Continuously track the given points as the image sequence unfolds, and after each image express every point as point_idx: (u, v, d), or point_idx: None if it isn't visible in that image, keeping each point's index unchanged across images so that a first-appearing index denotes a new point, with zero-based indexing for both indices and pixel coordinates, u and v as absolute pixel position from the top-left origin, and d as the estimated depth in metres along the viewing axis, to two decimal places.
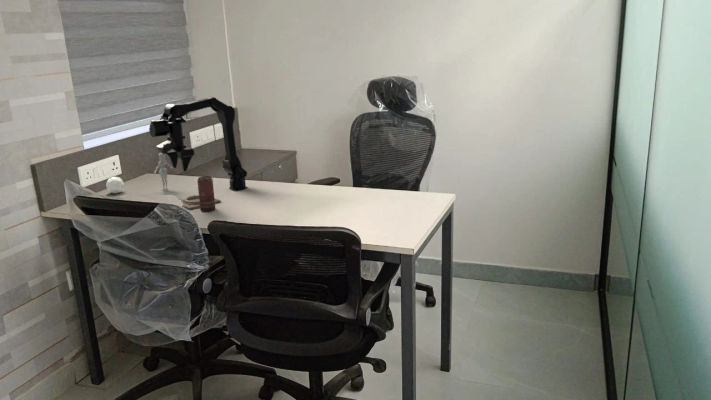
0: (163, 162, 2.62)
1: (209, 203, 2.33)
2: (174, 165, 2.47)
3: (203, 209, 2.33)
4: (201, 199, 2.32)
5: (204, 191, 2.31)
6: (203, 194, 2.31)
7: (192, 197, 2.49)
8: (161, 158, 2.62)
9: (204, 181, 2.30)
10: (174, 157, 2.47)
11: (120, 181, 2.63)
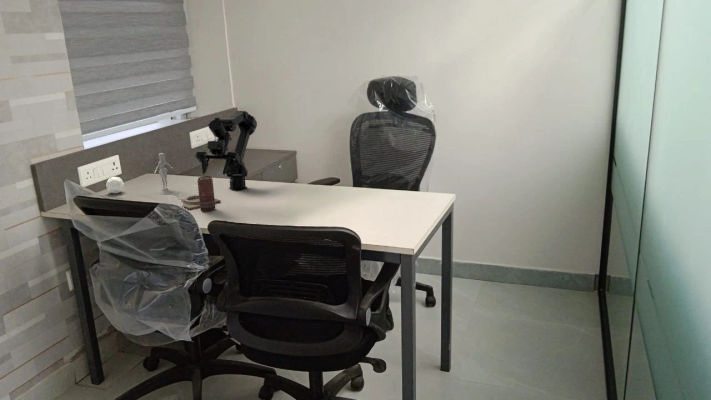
0: (163, 162, 2.62)
1: (209, 203, 2.33)
2: (204, 171, 2.41)
3: (203, 209, 2.33)
4: (201, 199, 2.32)
5: (204, 191, 2.31)
6: (203, 194, 2.31)
7: (192, 197, 2.49)
8: (161, 158, 2.62)
9: (204, 181, 2.30)
10: (205, 164, 2.43)
11: (120, 181, 2.63)
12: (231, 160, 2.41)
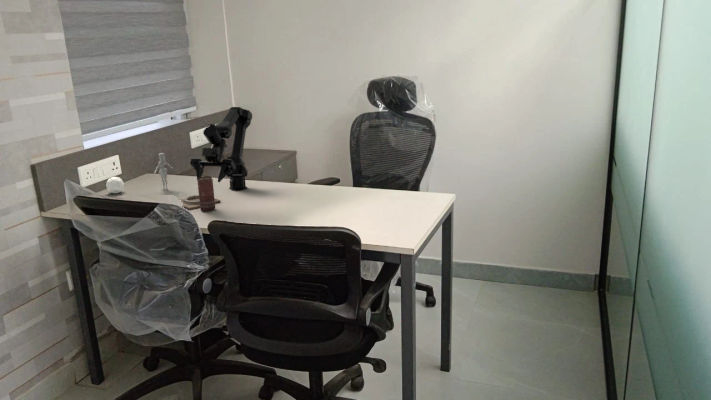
0: (163, 162, 2.62)
1: (209, 203, 2.33)
2: None
3: (203, 209, 2.33)
4: (201, 199, 2.32)
5: (204, 191, 2.31)
6: (203, 194, 2.31)
7: (192, 197, 2.49)
8: (161, 158, 2.62)
9: (204, 181, 2.30)
10: (200, 172, 2.39)
11: (120, 181, 2.63)
12: (226, 167, 2.36)
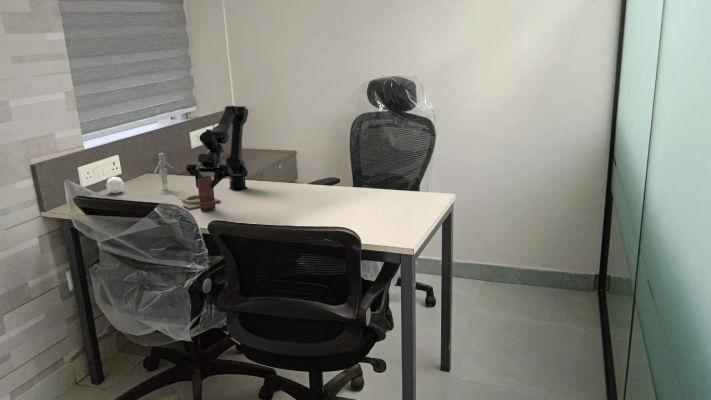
0: (163, 162, 2.62)
1: (209, 203, 2.33)
2: None
3: (203, 209, 2.33)
4: (201, 199, 2.32)
5: (204, 191, 2.31)
6: (203, 194, 2.31)
7: (192, 197, 2.49)
8: (161, 158, 2.62)
9: (204, 181, 2.30)
10: None
11: (120, 181, 2.63)
12: (220, 173, 2.33)
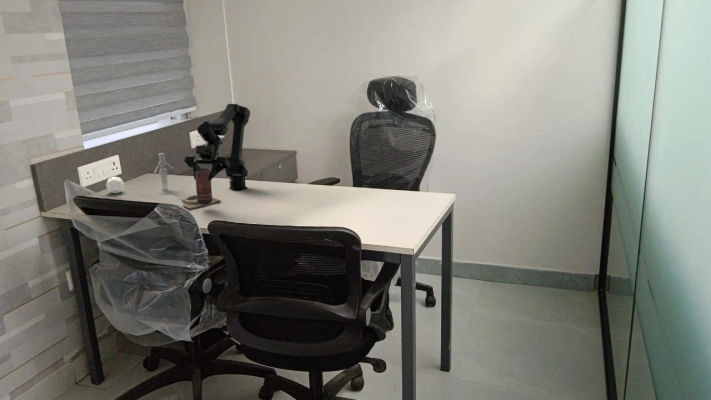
0: (163, 162, 2.62)
1: (206, 195, 2.33)
2: None
3: (200, 201, 2.34)
4: (198, 191, 2.32)
5: (201, 183, 2.31)
6: (200, 186, 2.31)
7: (192, 197, 2.49)
8: (161, 158, 2.62)
9: (202, 173, 2.30)
10: None
11: (120, 181, 2.63)
12: (218, 165, 2.33)
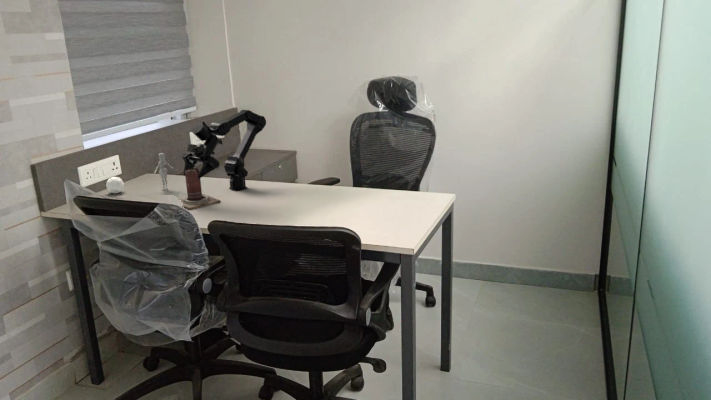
0: (163, 162, 2.62)
1: (193, 194, 2.43)
2: None
3: (188, 199, 2.45)
4: (187, 189, 2.44)
5: (188, 182, 2.42)
6: (188, 185, 2.42)
7: None
8: (161, 158, 2.62)
9: (188, 173, 2.41)
10: (189, 166, 2.47)
11: (120, 181, 2.63)
12: (208, 164, 2.40)
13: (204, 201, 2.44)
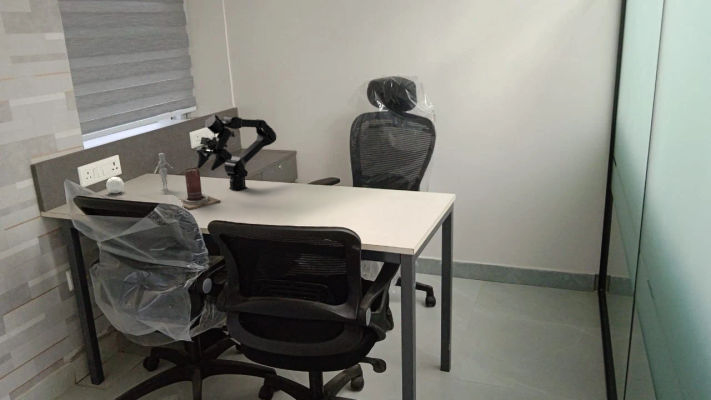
0: (163, 162, 2.62)
1: (193, 194, 2.43)
2: (199, 165, 2.51)
3: (188, 199, 2.45)
4: (187, 189, 2.44)
5: (188, 182, 2.42)
6: (188, 185, 2.42)
7: None
8: (161, 158, 2.62)
9: (188, 173, 2.41)
10: (203, 159, 2.53)
11: (120, 181, 2.63)
12: (220, 157, 2.46)
13: (204, 201, 2.44)
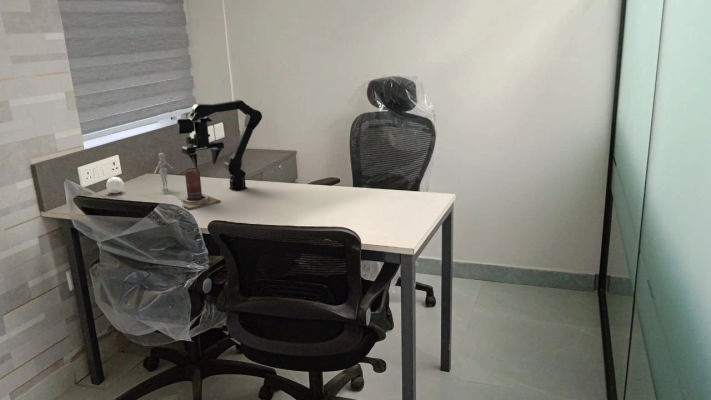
0: (163, 162, 2.62)
1: (193, 194, 2.43)
2: (213, 161, 2.60)
3: (188, 199, 2.45)
4: (187, 189, 2.44)
5: (188, 182, 2.42)
6: (188, 185, 2.42)
7: None
8: (161, 158, 2.62)
9: (188, 173, 2.41)
10: (214, 154, 2.59)
11: (120, 181, 2.63)
12: None
13: (204, 201, 2.44)
